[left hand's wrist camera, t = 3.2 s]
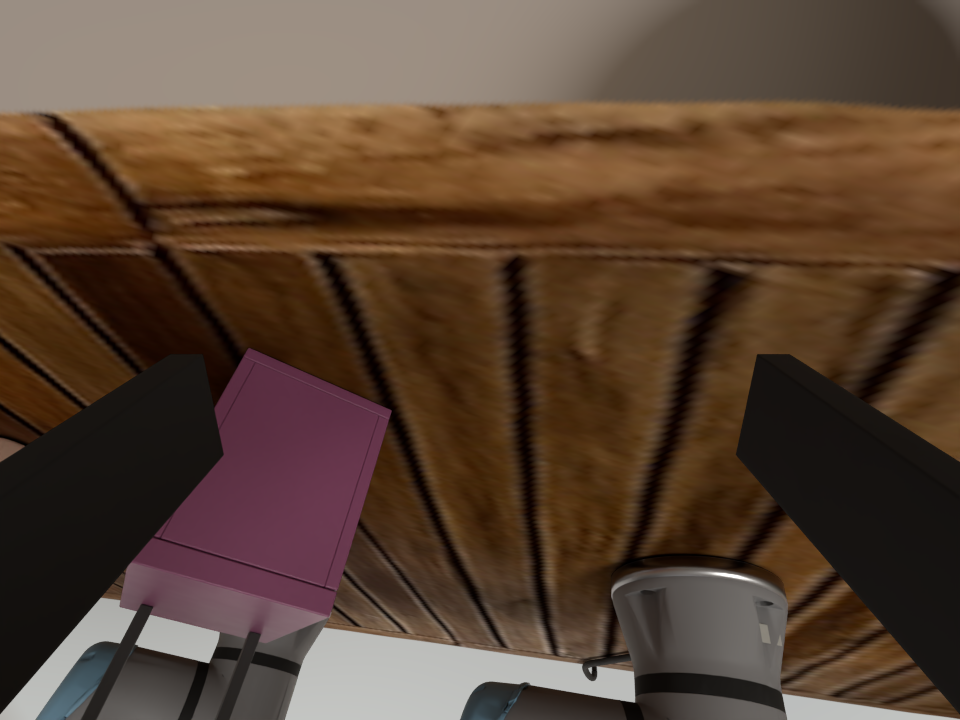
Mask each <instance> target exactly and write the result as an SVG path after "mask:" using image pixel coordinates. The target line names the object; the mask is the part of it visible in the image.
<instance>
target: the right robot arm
mask: <svg viewBox="0 0 960 720" xmlns="http://www.w3.org/2000/svg"><path fill="white" fill-rule="evenodd" d="M333 605H334V604H333ZM332 608H333V607H332ZM331 612H332V611H331ZM330 615H331V614H330ZM328 619H329V617H328V618H326V619H323V620H321V621H319V622H316V623H314V624H311V625H309V626H306V627H304V628H302V629H299V630H297V631H294V632H292V633H290V634H287V635H285V636H282V637H280V638H277V639H275V640H273V641H270V642H268V643H262V642H258V645H257V647H256V650H255V653H254V655H253V658H252V661H251V663H250V666H249V669H248V672H247V674H246V677H245V680H244V682H243V685H242V688H241V690H240V693H239V696H238V699H237V701H236V704H235V707H234V709H233V712H232V715H231V717H230V720H285V717H286V714H287V710H288V707H289V704H290V701H291V697H292V694H293V691H294V688H295V685H296V681H297V678H298V674H299V671H300V668H301V665H302V662H303V660H304V658H305V656H306V654H307V653H308V651H309V649H310V648H311V646H312V645H313V643H314V641H315V640H316V638H317V637H318V635H319V634H320V632H321V630H322V629H323V627H324V626H325V624H326V622H327V621H328ZM245 640H246V638H242V637H238V636H234V635H230V634H226V633H222V632H220V636H219V641H218V644H217V646H216V649H215V651H214V654H213V656H212V658H211V660H210V663H205V662H200V661H197V660H192V659H188V658H184V657H179V656H175V655H171V654H167V653H162V652H158V651H154V650H149V649H145V648H141V647H138V645H134V647H133V649H132V651H131V653H130V655H129V657H128V659H127V661H126V663H125V665H124V667H123V669H122V671H121V673H120V675H119V677H118V679H117V681H116V683H115V685H114V687H113V689H112V690H111V692H110V694H109V696H108V698H107V700H106V702H105V704H104V706H103V708H102V710H101V712H100V714H99V716H98V718H97V720H215V718H216V715H217V712H218V710H219V707H220V705H221V702H222V699H223V697H224V694H225V692H226V689H227V687H228V684H229V681H230V679H231V676H232V674H233V671H234V668H235V666H236V663H237V661H238V658H239V655H240V653H241V650H242V648H243V645H244V643H245ZM119 645H120V644H119V643H113V642H106V641H105V642H99V643H97V644H94V645H93V646H91V647H90V648H88V649H87V650H86V651H85V652H84V653H83V655H82V656H81V657H80V658H79V660H78V661H77V662H76V664H75V665H74V666H73V668H72V669H71V670H70V672H69V673H68V674H67V676H66V677H65V679H64V680H63V681H62V683H61V684H60V686H59V687H58V688H57V690H56V691H55V693H54V694H53V695H52V697H51V698H50V700H49V701H48V702H47V704H46V705H45V707H44V708H43V710H42V711H41V712H40V714H39V715H38V717H37V718H36V720H81V718H82V716H83V714H84V712H85V710H86V708H87V706H88V704H89V702H90V701H91V699H92V697H93V695H94V693H95V691H96V689H97V687H98V685H99V683H100V681H101V679H102V678H103V676H104V674H105V672H106V670H107V668H108V666H109V664H110V662H111V660H112V658H113V657H114V655H115V653H116V651H117V649H118V647H119Z"/></svg>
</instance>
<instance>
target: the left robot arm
mask: <svg viewBox="0 0 960 720" xmlns="http://www.w3.org/2000/svg"><path fill="white" fill-rule="evenodd" d="M223 455H224V452H223V448H222V443H221V438H220V433H219V429H218V424H217V419H216V414H215V410H214V405H213V400H212V395H211V391H210V386H209V381H208V377H207V372H206V367H205V362H204V358H203V354H170V355H169V356H167V357H165V358H164V359H162V360H161V361H159V362H157V363H156V364H154V365H153V366H151V367H150V368H148V369H146V370H145V371H143V372H142V373H140V374H139V375H137V376H135V377H134V378H132V379H131V380H129V381H127V382H126V383H124V384H123V385H121V386H120V387H118V388H116V389H115V390H113V391H112V392H110V393H109V394H107V395H105V396H104V397H102V398H101V399H99V400H97V401H96V402H94V403H93V404H91V405H90V406H88V407H86V408H85V409H83V410H82V411H80V412H79V413H77V414H75V415H74V416H72V417H71V418H69V419H67V420H66V421H64V422H63V423H61V424H60V425H58V426H56V427H55V428H53V429H52V430H50V431H49V432H47V433H45V434H44V435H42V436H41V437H39V438H37V439H36V440H34V441H33V442H31V443H30V444H28V445H26V446H25V447H23V448H22V449H20V450H19V451H17V452H15V453H14V454H12V455H11V456H9V457H7V458H6V459H4V460H3V461H1V462H0V714H1V713H2V711H3V710H4V709H5V708H6V707H7V706H8V704H9V703H10V702H11V701H12V700H13V699H14V698H15V696H16V695H17V694H18V693H19V692H20V691H21V689H22V688H23V687H24V686H25V685H26V684H27V683H28V681H29V680H30V679H31V678H32V677H33V676H34V674H35V673H36V672H37V671H38V670H39V669H40V667H41V666H42V665H43V664H44V663H45V662H46V661H47V659H48V658H49V657H50V656H51V655H52V653H53V652H54V651H55V650H56V649H57V648H58V647H59V645H60V644H61V643H62V642H63V641H64V640H65V638H66V637H67V636H68V635H69V634H70V633H71V632H72V630H73V629H74V628H75V627H76V626H77V625H78V623H79V622H80V621H81V620H82V619H83V618H84V616H85V615H86V614H87V613H88V612H89V611H90V610H91V608H92V607H93V606H94V605H95V604H96V603H97V601H98V600H99V599H100V598H101V597H102V596H103V594H104V593H105V592H106V591H107V590H108V589H109V588H110V586H111V585H112V584H113V583H114V582H115V581H116V579H117V578H118V577H119V576H120V575H121V574H122V572H123V571H124V570H125V569H126V568H127V567H128V566H129V564H130V563H131V562H132V561H133V560H134V559H135V557H136V556H137V555H138V554H139V553H140V552H141V550H142V549H143V548H144V547H145V546H146V545H147V543H148V542H149V541H150V540H151V539H152V538H153V537H154V535H155V534H156V533H157V532H158V531H159V530H160V528H161V527H162V526H163V525H164V524H165V523H166V521H167V520H168V519H169V518H170V517H171V516H172V515H173V513H174V512H175V511H176V510H177V509H178V508H179V506H180V505H181V504H182V503H183V502H184V501H185V499H186V498H187V497H188V496H189V495H190V494H191V493H192V491H193V490H194V489H195V488H196V487H197V486H198V484H199V483H200V482H201V481H202V480H203V479H204V477H205V476H206V475H207V474H208V473H209V472H210V470H211V469H212V468H213V467H214V466H215V465H216V464H217V462H218V461H219V460H220V459H221V458H222V457H223ZM736 455H737V457H738V458H739V459H740V460H741V461H742V462H743V464H744V465H745V466H746V467H747V468H748V469H749V471H750V472H751V473H752V474H753V475H754V476H755V477H756V479H757V480H758V481H759V482H760V483H761V484H762V486H763V487H764V488H765V489H766V490H767V491H768V493H769V494H770V495H771V496H772V497H773V498H774V499H775V501H776V502H777V503H778V504H779V505H780V506H781V508H782V509H783V510H784V511H785V512H786V513H787V515H788V516H789V517H790V518H791V519H792V520H793V521H794V523H795V524H796V525H797V526H798V527H799V528H800V530H801V531H802V532H803V533H804V534H805V535H806V537H807V538H808V539H809V540H810V541H811V542H812V543H813V545H814V546H815V547H816V548H817V549H818V550H819V552H820V553H821V554H822V555H823V556H824V557H825V559H826V560H827V561H828V562H829V563H830V564H831V566H832V567H833V568H834V569H835V570H836V571H837V572H838V574H839V575H840V576H841V577H842V578H843V579H844V581H845V582H846V583H847V584H848V585H849V586H850V588H851V589H852V590H853V591H854V592H855V593H856V594H857V596H858V597H859V598H860V599H861V600H862V601H863V603H864V604H865V605H866V606H867V607H868V608H869V610H870V611H871V612H872V613H873V614H874V615H875V616H876V618H877V619H878V620H879V621H880V622H881V623H882V625H883V626H884V627H885V628H886V629H887V630H888V632H889V633H890V634H891V635H892V636H893V637H894V638H895V640H896V641H897V642H898V643H899V644H900V645H901V647H902V648H903V649H904V650H905V651H906V652H907V654H908V655H909V656H910V657H911V658H912V659H913V661H914V662H915V663H916V664H917V665H918V666H919V667H920V669H921V670H922V671H923V672H924V673H925V674H926V676H927V677H928V678H929V679H930V680H931V681H932V683H933V684H934V685H935V686H936V687H937V688H938V689H939V691H940V692H941V693H942V694H943V695H944V696H945V698H946V699H947V700H948V701H949V702H950V703H951V705H952V706H953V707H954V708H955V709H956V710H957V711H958V713H959V714H960V462H959V461H957V460H956V459H954V458H953V457H951V456H949V455H948V454H946V453H945V452H943V451H941V450H940V449H938V448H937V447H935V446H934V445H932V444H930V443H929V442H927V441H926V440H924V439H923V438H921V437H919V436H918V435H916V434H915V433H913V432H911V431H910V430H908V429H907V428H905V427H904V426H902V425H900V424H899V423H897V422H896V421H894V420H893V419H891V418H889V417H888V416H886V415H885V414H883V413H881V412H880V411H878V410H877V409H875V408H874V407H872V406H870V405H869V404H867V403H866V402H864V401H863V400H861V399H859V398H858V397H856V396H855V395H853V394H851V393H850V392H848V391H847V390H845V389H844V388H842V387H840V386H839V385H837V384H836V383H834V382H833V381H831V380H829V379H828V378H826V377H825V376H823V375H821V374H820V373H818V372H817V371H815V370H814V369H812V368H810V367H809V366H807V365H806V364H804V363H803V362H801V361H799V360H798V359H796V358H795V357H793V356H791V355H790V354H757V358H756V362H755V367H754V372H753V377H752V381H751V386H750V391H749V395H748V400H747V405H746V410H745V414H744V419H743V424H742V429H741V433H740V438H739V443H738V448H737V452H736ZM611 594H612V600H613V604H614V607H615V610H616V613H617V617H618V620H619V623H620V626H621V629H622V632H623V635H624V638H625V641H626V644H627V648H628V651H629V654H624V655H618V656H612V657H608V658H602V659H595V660H590V661H587V662H585V663H584V664H583V666H582V669H583V672H584V674H585V676H586V677H587V678H588V679H589V680H591V681H595V680H596V678H597V666H600V665H607V664H613V663H619V662H625V661H632V663H633V668H634V679H635V703H633V702H626V701H621V700H614V699H608V698H601V697H596V696H590V695H584V694H578V693H572V692H566V691H561V690H555V689H549V688H543V687H537V686H531V685H530V684H529V683H526V682H524V683H521V684H509V683H500V682H485V683H483V684H481V685H479V686H478V687H477V688H476V689H475V690H474V691H473V692H472V694H471V695H470V697H469V699H468V701H467V703H466V705H465V708H464V710H463V713H462V716H461V719H460V720H787V716H786V712H785V707H784V702H783V697H782V691H781V685H780V673H781V664H782V656H783V647H784V639H785V630H786V622H787V608H788V603H787V599H786V594H785V590H784V585H783V582H782V581H781V580H780V579H779V578H778V577H777V576H776V575H774V574H773V573H771V572H769V571H767V570H765V569H763V568H760V567H757V566H754V565H751V564H748V563H744V562H740V561H735V560H729V559H723V558H715V557H704V556H665V557H656V558H649V559H643V560H639V561H635V562H632V563H629V564H626V565H624V566H622V567H620V568H618V569H617V570H616V571H615V572H614V573H613V574H612V577H611ZM590 667H592V674H591V673H590V672H589V670H588V668H590Z"/></svg>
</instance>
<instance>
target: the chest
mask: <svg viewBox="0 0 960 720" xmlns="http://www.w3.org/2000/svg"><path fill="white" fill-rule="evenodd" d="M214 410H215V414H216V419H217V424H218V429H219V433H220V438H221V443H222V448H223V452H224V455H223V457H222V458H221V459H220V460H219V461H218V462H217V464H216V465H215V466H214V467H213V468H212V469H211V470H210V472H209V473H208V474H207V475H206V476H205V477H204V479H203V480H202V481H201V482H200V483H199V484H198V486H197V487H196V488H195V489H194V490H193V491H192V493H191V494H190V495H189V496H188V497H187V498H186V499H185V501H184V502H183V503H182V504H181V505H180V506H179V508H178V509H177V510H176V511H175V512H174V513H173V515H172V516H171V517H170V518H169V519H168V520H167V521H166V523H165V524H164V525H163V526H162V527H161V528H160V530H159V531H158V532H157V533H156V534H155V535H154V538H157V539H161V540H164V541H167V542H171V543H174V544H177V545H181V546H184V547H187V548H191V549H194V550H198V551H201V552H204V553H208V554H211V555H214V556H218V557H221V558H224V559H228V560H231V561H235V562H238V563H241V564H245V565H248V566H251V567H255V568H258V569H261V570H265V571H268V572H272V573H275V574H278V575H282V576H285V577H288V578H292V579H295V580H298V581H302V582H305V583H309V584H312V585H315V586H319V587H322V588H325V589H329V590H332V591H337V590H338V587H339V584H340V581H341V577H342V574H343V571H344V567H345V564H346V561H347V557H348V554H349V551H350V547H351V544H352V541H353V537H354V534H355V531H356V528H357V524H358V521H359V518H360V514H361V511H362V508H363V504H364V501H365V498H366V494H367V491H368V488H369V484H370V481H371V478H372V474H373V471H374V468H375V464H376V461H377V458H378V454H379V451H380V448H381V444H382V441H383V438H384V435H385V431H386V428H387V425H388V421H389V418H390V415H391V410H390V409H387V408H385V407H383V406H381V405H378V404H376V403H374V402H371V401H369V400H367V399H365V398H362V397H360V396H358V395H356V394H353V393H351V392H349V391H346V390H344V389H342V388H340V387H337V386H335V385H333V384H331V383H328V382H326V381H324V380H321V379H319V378H317V377H315V376H312V375H310V374H308V373H305V372H303V371H301V370H299V369H296V368H294V367H292V366H290V365H287V364H285V363H283V362H280V361H278V360H276V359H274V358H271V357H269V356H267V355H265V354H262V353H260V352H258V351H255V350H253V349H251V348H248V349H247V351H246V353H245V355H244V357H243V358H242V360H241V362H240V364H239V365H238V367H237V369H236V371H235V372H234V374H233V376H232V378H231V379H230V381H229V383H228V385H227V387H226V388H225V390H224V392H223V394H222V395H221V397H220V399H219V401H218V402H217V404H216V406H215V408H214Z"/></svg>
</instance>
